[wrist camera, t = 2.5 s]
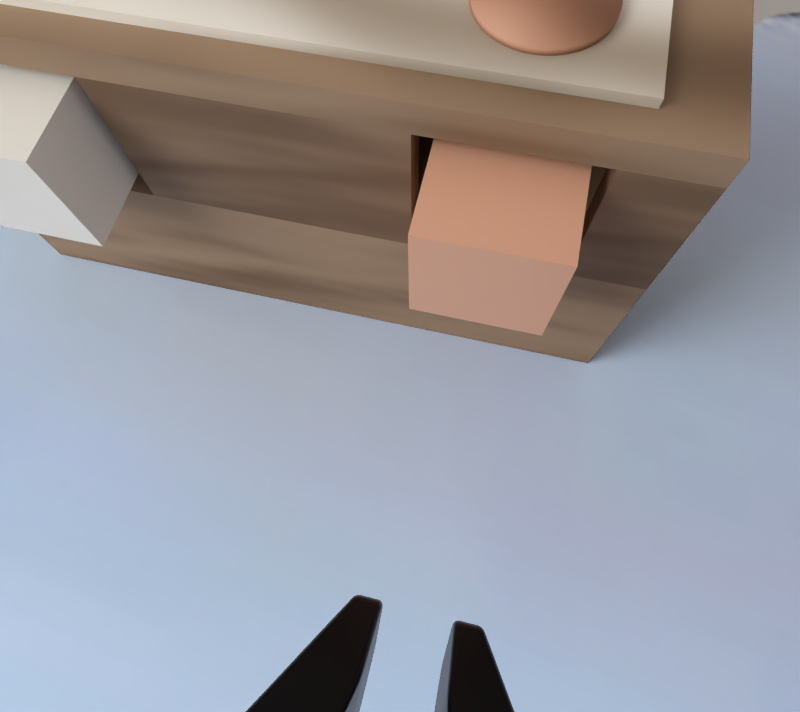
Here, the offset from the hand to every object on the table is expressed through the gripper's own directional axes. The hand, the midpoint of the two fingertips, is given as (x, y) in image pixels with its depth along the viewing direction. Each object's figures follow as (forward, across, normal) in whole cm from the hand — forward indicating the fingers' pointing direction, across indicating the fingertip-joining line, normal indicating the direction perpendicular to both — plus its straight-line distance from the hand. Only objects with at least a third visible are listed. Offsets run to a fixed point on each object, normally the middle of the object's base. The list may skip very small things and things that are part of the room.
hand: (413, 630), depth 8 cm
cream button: (+12, +14, -2) cm, 18 cm away
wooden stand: (+20, +7, 0) cm, 21 cm away
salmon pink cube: (+12, 0, -2) cm, 12 cm away
